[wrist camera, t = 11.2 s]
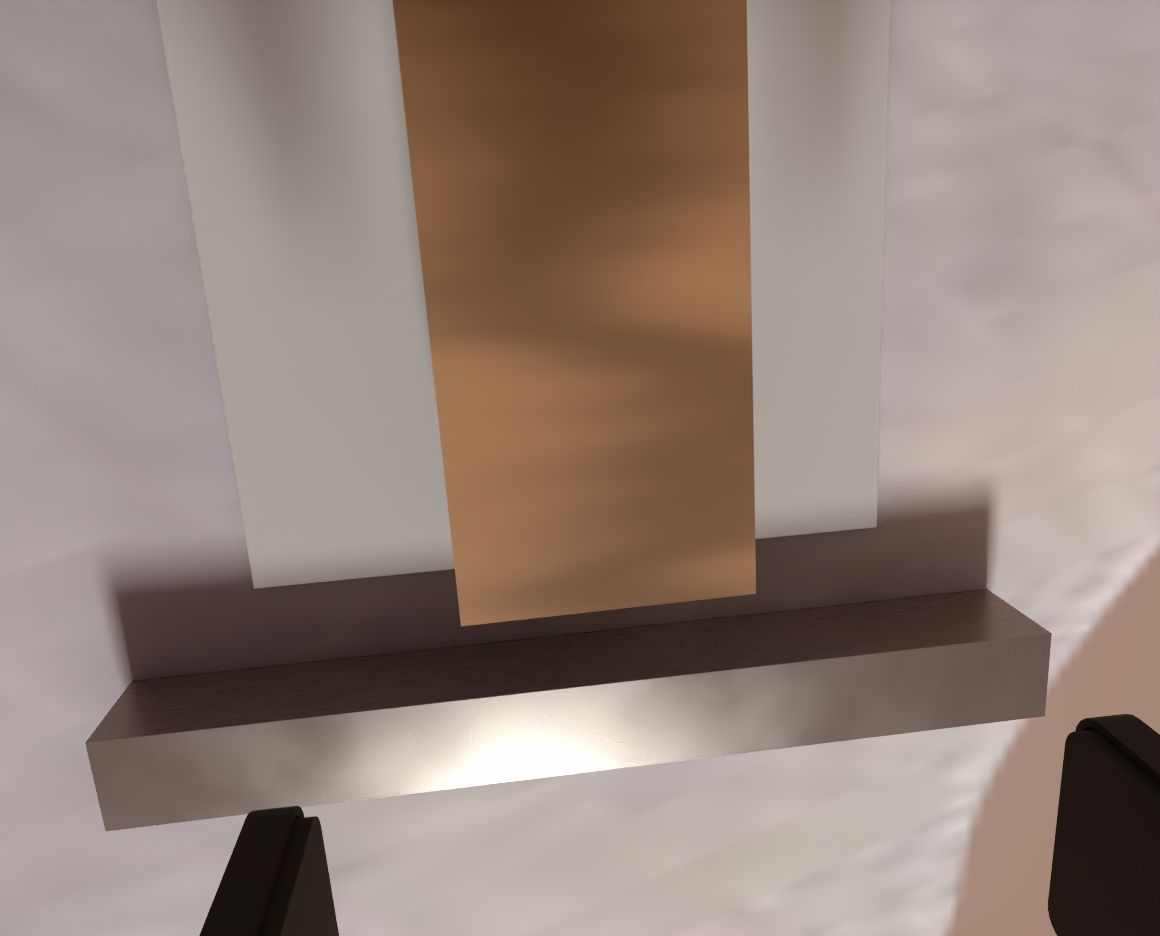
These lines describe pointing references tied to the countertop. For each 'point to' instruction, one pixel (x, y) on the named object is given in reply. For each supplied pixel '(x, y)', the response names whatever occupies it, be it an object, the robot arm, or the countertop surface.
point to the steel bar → (561, 706)
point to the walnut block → (586, 296)
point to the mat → (396, 291)
